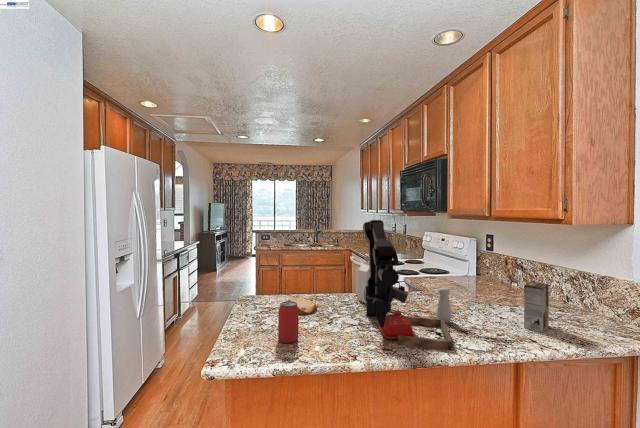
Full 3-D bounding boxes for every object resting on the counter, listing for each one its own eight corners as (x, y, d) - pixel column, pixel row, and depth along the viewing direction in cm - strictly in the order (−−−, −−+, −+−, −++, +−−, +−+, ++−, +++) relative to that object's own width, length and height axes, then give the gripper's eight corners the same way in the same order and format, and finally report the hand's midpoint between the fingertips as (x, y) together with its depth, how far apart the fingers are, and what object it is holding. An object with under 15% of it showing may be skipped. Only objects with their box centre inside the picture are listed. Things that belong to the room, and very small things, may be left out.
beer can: (278, 336, 107) (279, 300, 107) (298, 335, 107) (298, 300, 107) (277, 344, 100) (278, 306, 100) (298, 343, 100) (298, 306, 101)
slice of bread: (291, 301, 151) (291, 293, 152) (326, 305, 145) (326, 297, 145) (271, 311, 135) (272, 302, 135) (310, 317, 128) (310, 308, 128)
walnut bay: (398, 344, 101) (398, 336, 101) (399, 321, 123) (399, 315, 123) (452, 350, 97) (452, 342, 97) (443, 325, 119) (443, 319, 119)
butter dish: (419, 342, 104) (419, 316, 104) (384, 341, 103) (384, 315, 103) (408, 329, 115) (409, 306, 115) (377, 329, 115) (377, 305, 115)
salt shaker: (453, 324, 121) (453, 290, 121) (437, 323, 122) (437, 289, 122) (449, 319, 126) (450, 286, 126) (434, 318, 127) (435, 286, 127)
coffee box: (529, 322, 124) (529, 281, 124) (549, 326, 119) (549, 283, 119) (523, 327, 118) (523, 284, 118) (544, 332, 113) (544, 287, 113)
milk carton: (366, 304, 147) (366, 263, 147) (357, 300, 153) (357, 261, 153) (378, 302, 150) (378, 262, 150) (369, 298, 156) (369, 260, 156)
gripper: (406, 286, 102) (406, 335, 102) (406, 276, 120) (406, 317, 120) (372, 284, 105) (371, 331, 105) (377, 274, 123) (376, 314, 123)
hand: (383, 323), depth 113 cm, fingers open, 9 cm apart
